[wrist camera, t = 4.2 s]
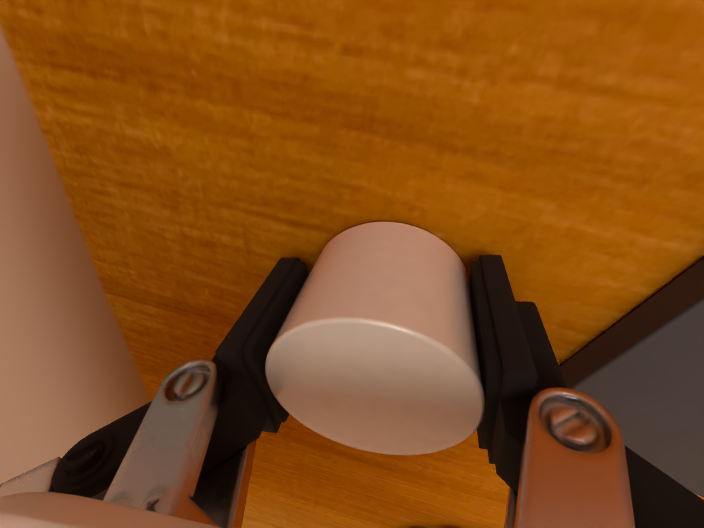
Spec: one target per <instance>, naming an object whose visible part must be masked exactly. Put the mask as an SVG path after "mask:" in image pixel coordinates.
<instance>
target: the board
mask: <svg viewBox="0 0 704 528" xmlns="http://www.w3.org/2000/svg"><path fill="white" fill-rule="evenodd" d="M559 368H560V371H561V373H562V376H563V379H564V381H565V384H566V387H567V389H572V390H576V391H578V392H581V393H583V394H586V395H588V396H589V397H591V398H593V399H594V400H596V401H598V402H599V403H601V404H602V405H603V406H604V407H605V408H606V409H607V410H608V411H609V412H610V413H611V414H612V415H613V417H614V418H615V420H616V421H617V422H618V424H619V425H620V428H621V431H622V434H623V438H624V445H625V446H627V447H628V448H629V449H631V450H632V451H634V452H635V453H637V454H638V455H639V456H641V457H642V458H644V459H645V460H647V461H648V462H649V463H651V464H652V465H654V466H655V467H657V468H658V469H660V470H661V471H662V472H664V473H665V474H667V475H668V476H670V477H671V478H672V479H674V480H675V481H677V482H678V483H680V484H681V485H682V486H684V487H685V488H687V489H688V490H690V491H691V492H692V493H695V494H697V495H699V496H702V497H704V258H703V259H702V260H700V261H699V262H698V263H696V264H695V265H694V266H692V267H691V268H690V269H688V270H687V271H686V272H684V273H683V274H682V275H680V276H679V277H678V278H676V279H675V280H674V281H672V282H671V283H670V284H668V285H667V286H666V287H665V288H663V289H662V290H661V291H659V292H658V293H657V294H655V295H654V296H653V297H651V298H650V299H649V300H647V301H646V302H645V303H643V304H642V305H641V306H639V307H638V308H637V309H635V310H634V311H633V312H631V313H630V314H629V315H627V316H626V317H625V318H623V319H622V320H621V321H619V322H618V323H617V324H615V325H614V326H613V327H612V328H610V329H609V330H608V331H606V332H605V333H604V334H602V335H601V336H600V337H598V338H597V339H596V340H594V341H593V342H592V343H590V344H589V345H588V346H586V347H585V348H584V349H582V350H581V351H580V352H578V353H577V354H576V355H574V356H573V357H572V358H570V359H569V360H568V361H566V362H565V363H564V364H563V365H561V366H560V367H559Z"/></svg>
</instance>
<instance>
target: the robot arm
mask: <svg viewBox="0 0 704 528" xmlns="http://www.w3.org/2000/svg"><path fill="white" fill-rule="evenodd" d="M308 275H309V274H308V270H307V266H306V264H305V263H304V262H301V260H300V259H299V258H281V259H280V260H279V261H278V263H277V264H276V266H275V267H274V268H273V270H272V271H271V273H270V274H269V276H268V277H267V278H266V280H265V281H264V283H263V284H262V286H261V287H260V289H259V290H258V291H257V293H256V294H255V296H254V297H253V299H252V300H251V301H250V303H249V304H248V306H247V307H246V309H245V310H244V311H243V313H242V314H241V316H240V317H239V319H238V320H237V322H236V323H235V324H234V326H233V327H232V329H231V330H230V332H229V333H228V334H227V336H226V337H225V339H224V340H223V342H222V343H221V344H220V346H219V347H218V349H217V350H216V352H215V353H216V355H215V356H214V358H213V359H212V360H208V359H205V358H204V359H195V360H191V361H188V362H186V363H184V364H182V365H180V366H179V367H177V368H176V369H174V370H173V371H172V372H171V373H170V374H169V375H168V376H167V377H166V378H165V379H164V381H163V382H162V384H161V385H160V387H159V389H158V391H157V393H156V395H155V397H154V399H153V401H151V402H149V403H148V404H146V405H144V406H142V407H140V408H138V409H136V410H134V411H133V412H131V413H129V414H127V415H125V416H123V417H122V418H119V419H118V420H116V421H114V422H112V423H110V424H108V425H106V426H105V427H103V428H101V429H99V430H97V431H95V432H93V433H91V434H90V435H88V436H86V437H85V438H83V439H82V440H80V441H79V442H78V443H77V444H75V445H74V446H73V447H72V448H71V449H70V450H69V451H68V452H67V453H66V454H65V456H63V458H62V459H61V458H60V457H57V458H55V459H53V460H51V461H49V462H47V463H45V464H42V465H40V466H38V467H36V468H34V469H32V470H30V471H27V472H25V473H23V474H21V475H19V476H17V477H15V478H12V479H10V480H8V481H6V482H4V483H2V484H0V528H241V526H242V521H243V515H244V509H245V504H246V498H247V492H248V487H249V481H250V475H251V469H252V464H253V458H254V452H255V447H256V439H258V438H259V436H260V434H261V432H262V431H265V432H273V433H277V432H278V429H279V427H280V424H281V422H285V421H286V420H287V418H288V416H289V413H288V412H287V411H286V410H285V409H284V408H283V407H282V406H281V405H280V404H279V402H278V401H277V400H276V398H275V397H274V395H273V393H272V391H271V389H270V387H269V385H268V383H267V379H266V374H265V361H266V357H267V353H268V351H269V349H270V347H271V345H272V343H273V341H274V339H275V337H276V336H277V334H278V332H279V330H280V328H281V326H282V324H283V322H284V320H285V319H286V317H287V315H288V313H289V311H290V309H291V307H292V305H293V303H294V302H295V300H296V298H297V296H298V294H299V292H300V290H301V288H302V286H303V285H304V283H305V281H306V279H307V277H308ZM470 292H471V299H472V306H473V313H474V320H475V327H476V334H477V341H478V349H479V356H480V363H481V370H482V377H483V384H484V391H485V406H484V414H483V420H482V422H481V423H480V425H479V427H478V428H477V434H478V443H479V448H482V449H488V457H489V463H490V464H495V466H496V473H497V474H498V475H499V476H500V477H501V478H502V479H503V480H504V481H505V483H506V484H507V485H508V486H509V491H508V499H507V507H506V515H505V523H504V528H704V500H702V499H701V498H700V497H698V496H697V495H695V494H694V493H692V492H691V491H690V490H688V489H687V488H685V487H684V486H682V485H681V484H680V483H678V482H677V481H675V480H674V479H672V478H671V477H670V476H668V475H667V474H665V473H664V472H662V471H661V470H660V469H658V468H657V467H655V466H654V465H652V464H651V463H649V462H648V461H647V460H645V459H644V458H642V457H641V456H639V455H638V454H637V453H635V452H634V451H632V450H631V449H629V448H628V447H627V446H625V445H624V438H623V434H622V431H621V428H620V425H619V424H618V422H617V421H616V420H615V418H614V417H613V415H612V414H611V413H610V412H609V411H608V410H607V409H606V408H605V407H604V406H603V405H602V404H601V403H599V402H598V401H596V400H594V399H593V398H591V397H589V396H588V395H586V394H583V393H581V392H578V391H576V390H572V389H567V387H566V384H565V381H564V379H563V376H562V373H561V371H560V368H559V365H558V363H557V360H556V358H555V355H554V352H553V350H552V347H551V344H550V342H549V339H548V336H547V334H546V331H545V328H544V326H543V323H542V320H541V318H540V315H539V312H538V310H537V307H536V305H535V304H534V303H533V302H515V299H514V296H513V293H512V290H511V286H510V283H509V280H508V276H507V273H506V270H505V267H504V263H503V260H502V257H501V255H480V256H479V260H474V261H472V262H471V274H470Z"/></svg>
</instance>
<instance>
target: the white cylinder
mask: <svg viewBox="0 0 704 528" xmlns="http://www.w3.org/2000/svg"><path fill="white" fill-rule="evenodd" d="M265 374H266V379H267V383H268V385H269V387H270V389H271V391H272V393H273V395H274V397H275V398H276V400H277V401H278V402H279V404H280V405H281V406H282V407H283V408H284V409H285V410H286V411H287V412H288V413H289V414H290V415H291V416H293V417H294V418H295V419H296V420H298V421H299V422H300V423H302V424H303V425H305V426H306V427H308V428H309V429H311V430H313V431H314V432H316V433H318V434H320V435H322V436H324V437H326V438H328V439H331V440H333V441H335V442H338V443H341V444H343V445H346V446H350V447H353V448H356V449H360V450H365V451H369V452H375V453H381V454H390V455H419V454H428V453H433V452H438V451H442V450H445V449H448V448H451V447H453V446H455V445H457V444H459V443H461V442H463V441H464V440H466V439H467V438H468V437H470V436H471V435H472V434H473V433H474V432H475V431H476V430H477V428H478V427H479V425H480V423H481V422H482V420H483V414H484V406H485V391H484V384H483V377H482V370H481V363H480V356H479V349H478V341H477V334H476V327H475V320H474V313H473V306H472V299H471V292H470V284H469V279H468V274H467V272H466V269H465V267H464V265H463V263H462V261H461V260H460V258H459V257H458V255H457V254H456V253H455V252H454V251H453V249H451V248H450V247H449V246H448V245H447V244H446V243H445V242H444V241H442V240H441V239H439V238H438V237H436V236H435V235H433V234H431V233H429V232H427V231H426V230H423V229H420V228H418V227H415V226H412V225H408V224H404V223H397V222H371V223H366V224H361V225H358V226H355V227H352V228H349V229H347V230H345V231H343V232H342V233H340V234H338V235H337V236H336V237H334V238H333V239H332V240H331V241H330V242H329V243H328V244H327V245H326V246H325V247H324V248H323V250H322V251H321V253H320V254H319V256H318V258H317V260H316V262H315V264H314V266H313V268H312V270H311V271H310V273H309V275H308V277H307V279H306V281H305V283H304V285H303V286H302V288H301V290H300V292H299V294H298V296H297V298H296V300H295V302H294V303H293V305H292V307H291V309H290V311H289V313H288V315H287V317H286V319H285V320H284V322H283V324H282V326H281V328H280V330H279V332H278V334H277V336H276V337H275V339H274V341H273V343H272V345H271V347H270V349H269V351H268V353H267V357H266V361H265Z"/></svg>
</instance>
